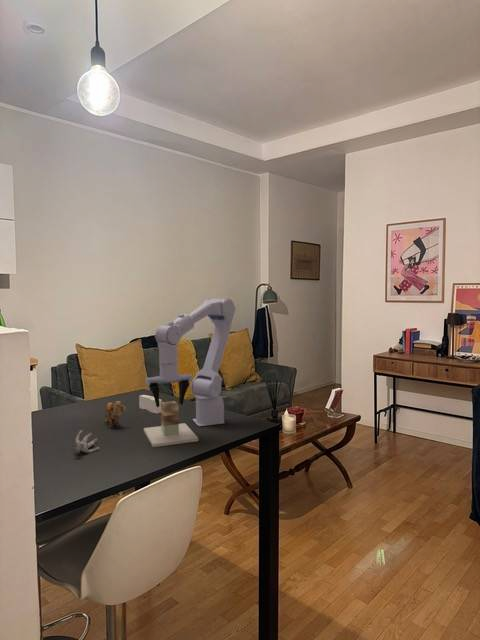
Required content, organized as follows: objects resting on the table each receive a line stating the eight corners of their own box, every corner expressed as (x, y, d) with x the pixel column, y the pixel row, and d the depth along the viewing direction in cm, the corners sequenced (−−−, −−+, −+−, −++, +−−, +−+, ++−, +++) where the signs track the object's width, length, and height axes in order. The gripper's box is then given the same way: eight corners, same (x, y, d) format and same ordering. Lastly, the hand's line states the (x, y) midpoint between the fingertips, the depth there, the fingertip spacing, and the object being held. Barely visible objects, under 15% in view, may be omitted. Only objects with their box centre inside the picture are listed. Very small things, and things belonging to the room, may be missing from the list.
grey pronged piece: (104, 446, 140) (98, 447, 129) (92, 458, 139) (85, 460, 127) (86, 428, 141) (79, 428, 129) (74, 440, 139) (65, 441, 128)
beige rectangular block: (134, 407, 181) (134, 393, 180) (163, 405, 184) (163, 391, 183) (135, 418, 166) (135, 403, 166) (166, 416, 169) (166, 401, 169)
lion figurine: (128, 427, 155) (127, 401, 154) (112, 430, 152) (112, 403, 151) (112, 417, 167) (111, 392, 166) (97, 419, 164) (97, 395, 163)
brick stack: (175, 420, 148) (174, 400, 148) (178, 424, 144) (178, 404, 144) (161, 421, 147) (160, 402, 146) (164, 426, 142) (164, 405, 142)
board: (184, 426, 156) (184, 414, 155) (198, 441, 141) (198, 427, 141) (143, 431, 151) (143, 418, 150) (153, 447, 136) (152, 433, 135)
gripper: (187, 359, 151) (188, 399, 152) (143, 362, 146) (144, 404, 147) (193, 362, 145) (194, 404, 146) (147, 366, 139) (148, 409, 140)
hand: (169, 404), depth 146 cm, fingers open, 7 cm apart
